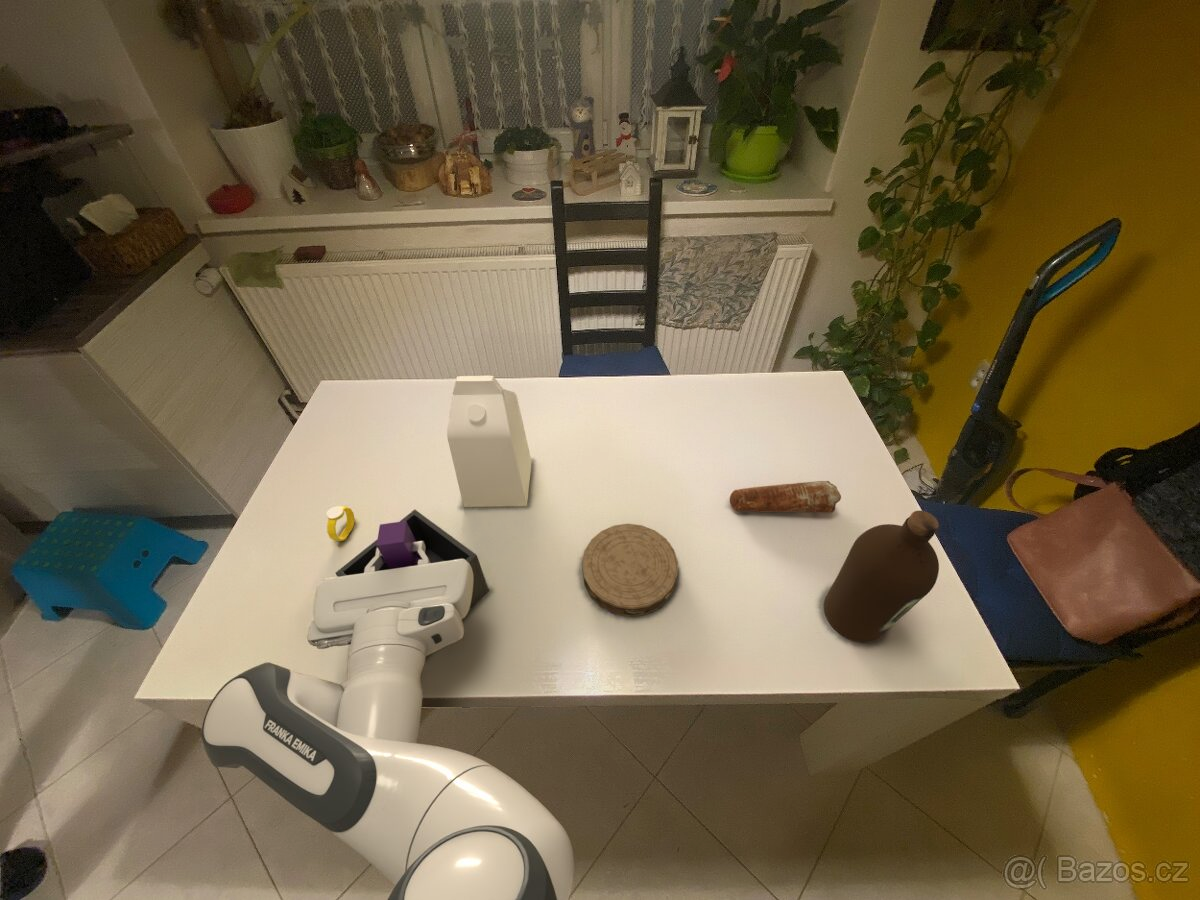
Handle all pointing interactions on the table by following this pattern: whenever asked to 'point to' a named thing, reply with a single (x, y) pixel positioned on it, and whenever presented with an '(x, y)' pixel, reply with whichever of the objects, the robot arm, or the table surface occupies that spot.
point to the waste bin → (427, 552)
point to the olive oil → (883, 578)
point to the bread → (787, 498)
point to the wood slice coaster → (629, 569)
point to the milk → (488, 444)
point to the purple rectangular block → (396, 545)
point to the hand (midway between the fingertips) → (401, 546)
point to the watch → (334, 515)
